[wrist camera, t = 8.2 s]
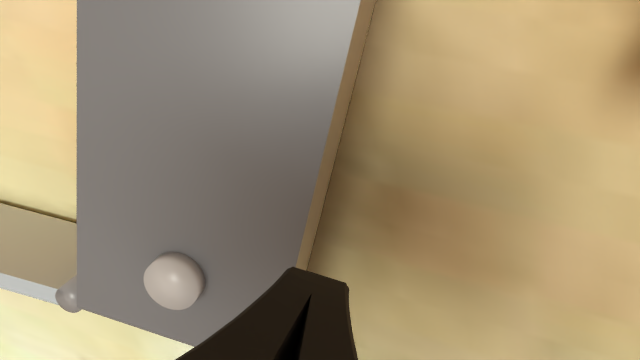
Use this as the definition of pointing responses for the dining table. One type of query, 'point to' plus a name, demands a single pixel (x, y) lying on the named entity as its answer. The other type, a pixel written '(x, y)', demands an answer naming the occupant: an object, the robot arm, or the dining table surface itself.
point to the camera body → (205, 150)
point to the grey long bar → (38, 256)
